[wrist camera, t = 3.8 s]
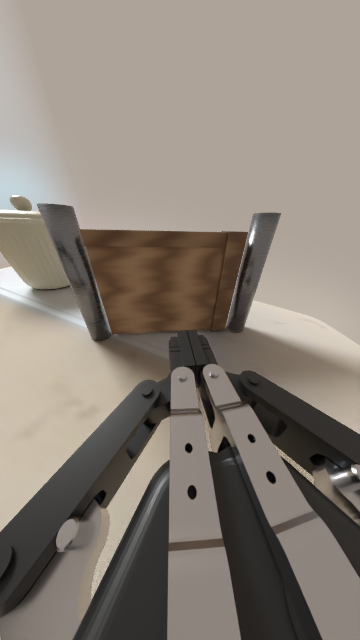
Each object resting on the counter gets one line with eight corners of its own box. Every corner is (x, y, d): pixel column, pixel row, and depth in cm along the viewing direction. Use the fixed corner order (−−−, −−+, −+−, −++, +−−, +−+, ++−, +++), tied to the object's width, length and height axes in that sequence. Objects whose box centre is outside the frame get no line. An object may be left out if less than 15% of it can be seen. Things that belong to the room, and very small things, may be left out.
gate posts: (88, 341, 22) (28, 203, 13) (95, 330, 25) (49, 207, 16) (246, 332, 25) (287, 213, 16) (238, 322, 28) (270, 215, 19)
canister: (101, 276, 52) (80, 202, 40) (65, 296, 37) (16, 186, 25) (52, 275, 52) (18, 201, 41) (-3, 294, 37) (-82, 184, 26)
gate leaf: (111, 336, 23) (77, 228, 15) (115, 327, 25) (87, 228, 17) (224, 329, 25) (248, 232, 17) (219, 322, 27) (238, 231, 19)
